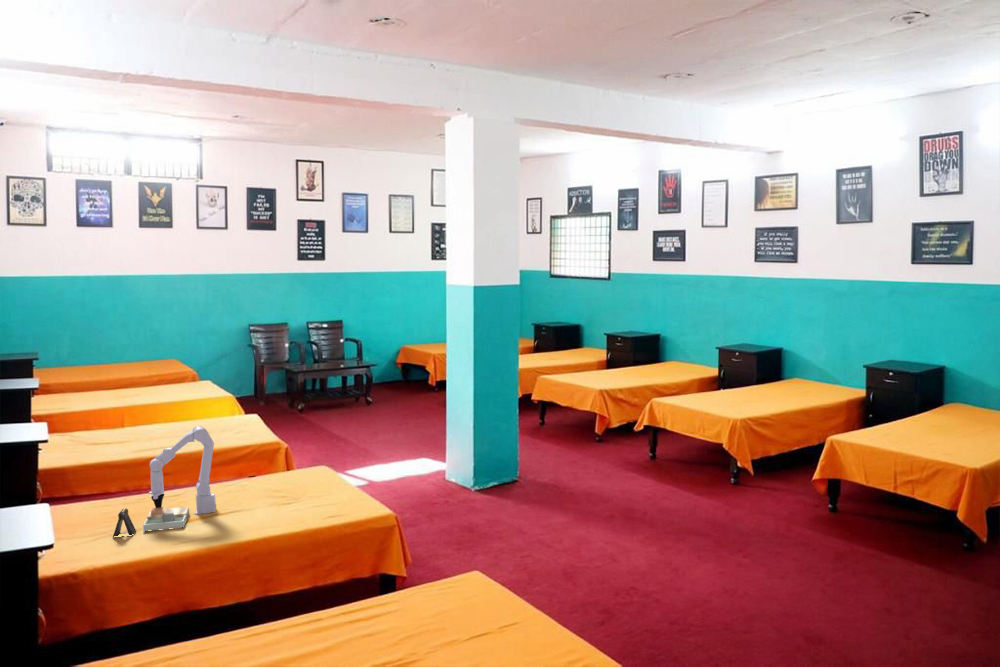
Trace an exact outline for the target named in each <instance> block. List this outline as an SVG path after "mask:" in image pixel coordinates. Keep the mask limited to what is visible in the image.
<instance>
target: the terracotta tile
mask: <svg viewBox="0 0 1000 667" xmlns="http://www.w3.org/2000/svg"><path fill="white" fill-rule="evenodd" d="M163 509H164V506H163V507H160V508H156V507H154V508H153V507H152V508H151V509H150V511H151V515H158V514H162V513H163Z"/></svg>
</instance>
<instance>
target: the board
mask: <svg viewBox="0 0 1000 667" xmlns="http://www.w3.org/2000/svg"><path fill="white" fill-rule="evenodd" d="M165 513H174V518H178V517H184V515H186V522H187V521H188V519H189V516H190V506H181V507H169V508H163V513H162V514H165ZM162 514H158V515H151V510H150V511H149V512H148V514H147V516H146V519H148V520H157V519H162ZM187 518H188V519H187Z"/></svg>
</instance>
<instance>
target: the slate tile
mask: <svg viewBox="0 0 1000 667" xmlns="http://www.w3.org/2000/svg"><path fill="white" fill-rule="evenodd" d="M162 519H163V523H164V522H174V513H165V514H162Z"/></svg>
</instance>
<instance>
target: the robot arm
mask: <svg viewBox="0 0 1000 667" xmlns="http://www.w3.org/2000/svg"><path fill="white" fill-rule="evenodd" d="M195 441H197V442H199V443H201V444H202V445H203V449H202V450H203V451H202V457H201V464H200V471H199V477H198V481H197V482H196V484H195V489H196V491H197V492H196V494H195V502H196V510H195V513H194V515H202V513H203V514H211V513H210V512H214V513H216V510H215V509H217V504H216V503H217V502H216V501H217V500H216V493H211V486H210V476H211V475H210V474H211V469H212V468H211V467H212V461H213V452H214V446H215V442H214V441H213V439H212V437H211V436H210V434H209V432H208V430H207V429H206V428H204V427H203V426H202V425H197V426H195V427H193V429H191V430H189V431H188V432H187V433H185V435H184V436H183V437H181V439H179V440H178V441H177V442H176V443H175V444H174V445H172V447H166V448H163V449H162V452H160V453H159V454H158V455H156V456H155V457H154V458H152V459H151V460H150V462H149V468H150V474H149V475H150V488H151V489H150V490H151V491H148V494H149V495H151V500H152V501H153V504H154V506H155V507H154V508H160V507H162V505H163V499H164V497H165V490H164V489H165V486H164V473H163V469H164V466H165V465H168V463H169V462H170V461H172V459H174V458H175V457H176V453H177V452H178V451H179V450H181V449H182V448H183V447H185V446H186V445H187V444H188V443H194V442H195Z"/></svg>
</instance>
